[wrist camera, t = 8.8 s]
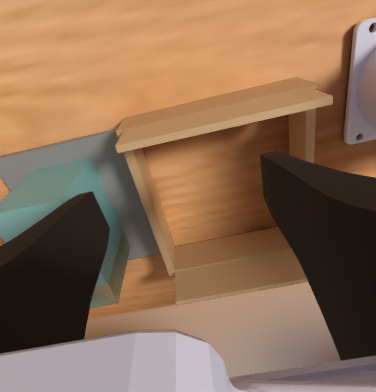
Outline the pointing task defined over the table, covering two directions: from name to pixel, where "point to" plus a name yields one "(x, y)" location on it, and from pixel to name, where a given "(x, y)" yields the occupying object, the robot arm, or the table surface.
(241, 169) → the table surface
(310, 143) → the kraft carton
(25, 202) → the teal box
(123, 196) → the slate mat
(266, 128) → the table surface
